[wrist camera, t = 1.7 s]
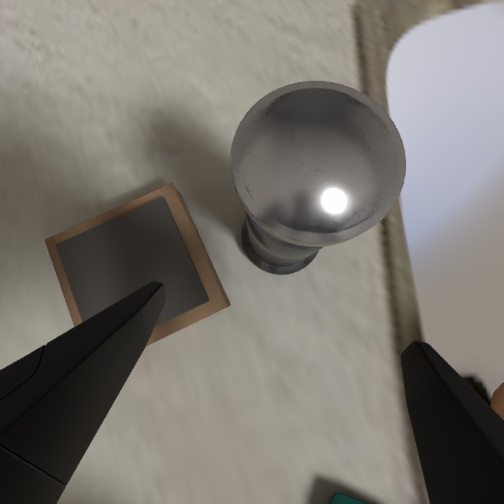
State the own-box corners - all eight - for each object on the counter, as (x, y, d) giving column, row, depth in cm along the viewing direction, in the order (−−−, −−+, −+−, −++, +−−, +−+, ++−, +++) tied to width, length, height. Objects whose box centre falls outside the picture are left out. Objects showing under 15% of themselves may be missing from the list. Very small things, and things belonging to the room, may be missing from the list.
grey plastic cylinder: (262, 288, 21) (274, 285, 8) (229, 219, 22) (192, 118, 9) (332, 254, 21) (452, 199, 8) (296, 188, 22) (354, 47, 9)
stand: (111, 362, 20) (85, 375, 17) (68, 245, 21) (39, 238, 19) (230, 304, 20) (226, 307, 17) (181, 195, 22) (169, 180, 19)
